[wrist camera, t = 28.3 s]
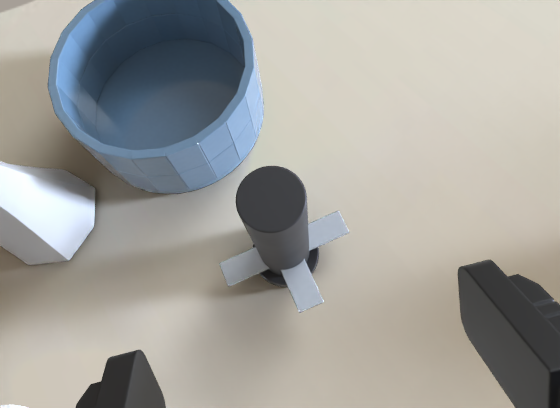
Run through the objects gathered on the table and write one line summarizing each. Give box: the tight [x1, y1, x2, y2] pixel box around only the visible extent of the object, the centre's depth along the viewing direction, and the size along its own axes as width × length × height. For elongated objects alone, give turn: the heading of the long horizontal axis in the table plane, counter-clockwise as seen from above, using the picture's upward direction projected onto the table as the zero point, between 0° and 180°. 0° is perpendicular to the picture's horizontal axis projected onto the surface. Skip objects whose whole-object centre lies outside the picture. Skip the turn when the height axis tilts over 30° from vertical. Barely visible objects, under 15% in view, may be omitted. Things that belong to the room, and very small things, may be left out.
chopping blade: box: [219, 166, 349, 313], centre depth 28 cm, size 8×8×12 cm
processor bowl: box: [48, 0, 264, 194], centre depth 34 cm, size 13×13×6 cm
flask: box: [0, 161, 95, 265], centre depth 31 cm, size 7×7×10 cm
